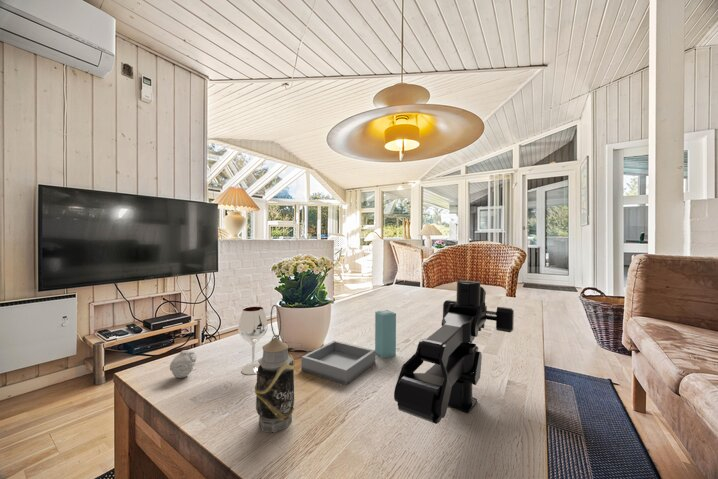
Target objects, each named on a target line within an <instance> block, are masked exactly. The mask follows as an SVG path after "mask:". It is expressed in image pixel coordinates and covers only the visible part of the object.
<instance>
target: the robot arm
mask: <svg viewBox="0 0 718 479" xmlns="http://www.w3.org/2000/svg"><path fill="white" fill-rule="evenodd" d="M486 294H487V291H486V290H485V289H484V287H483V286H481V282H480V281H472V280H457V281H456V300H449V299H447V300H445V301H444V302H443V304H442V319H441V327H439V328H438V329H437V330H436V331H435V332H433V333H432V334H430V335H429V336H428V337H427V338H424V339H423V338H422V339H420V340H419V341H418V344H417V347H416V351H415V353H414V354H413V355H412V356H411V357H409V359H408V360H407V361H406V362H405V363H403V365H402V366H401V368H400V372H399V374H398V377H397V381H396V384H395V387H394V392H393V393H394V394H393V399H394V402H397V407H398V408H397V409H398V411H399V412H403V413H406V414H408V415H411V416H414V417H417V418H419V419H421V420H425V421H426V422H429V423H433V424H435V425H437V424H439V423H440V422H441V420H442V419H444V418H445V417H446V414H447V411H448V407H452V408H454V409H456V410H460V411H462V412H465V413H470V412H471V410H472V409H473V408H474V407H475V405H476V404H477V403H478V398H476V397H474V396H473V385H474V386H477V384H478V382H479V380H480V379H481V373H482V372H481V370H482V359H483V357H482V354H483V353H482V352H481V351H479V347H478V346H477V344H476V343H473V341H474V340H475V338H477V337H478V336H479V332H482V329H485V324H486V322H487V320H489V321H495V328H496V329H495V330H496V331H499V332H506V333H511V332H514V318H515V317H514V316H515V312H514V309H513V308H511V307H504V306H497V307H496V311H493V310H492V311H491V310H487V309H488V306H487V305H486V296H487V295H486ZM424 362H426V363H430V364H434V365H432V367H430V368H429V369H428V370H427V371H425V372H415V371H417V369H419V367H420V366H421V365H423V363H424Z"/></svg>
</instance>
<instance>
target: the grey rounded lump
mask: <svg viewBox="0 0 718 479" xmlns="http://www.w3.org/2000/svg"><path fill="white" fill-rule="evenodd" d="M196 361H197V354H196V352H195V351H192V350H189V349H188V350H187V349H185V350H184V349H183V350H181V351H180V353H178V354H177V355H176V356H174V358H173V360H172V361H171V362H170V365H169V370H170V372H171V373H172V375H173V376H174V377H175V378H177V379H183V378H185V377H187V376H188V375H190V374H191V372H192V371H193V369H194V368H193V367H194V366H195V364H196Z"/></svg>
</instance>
